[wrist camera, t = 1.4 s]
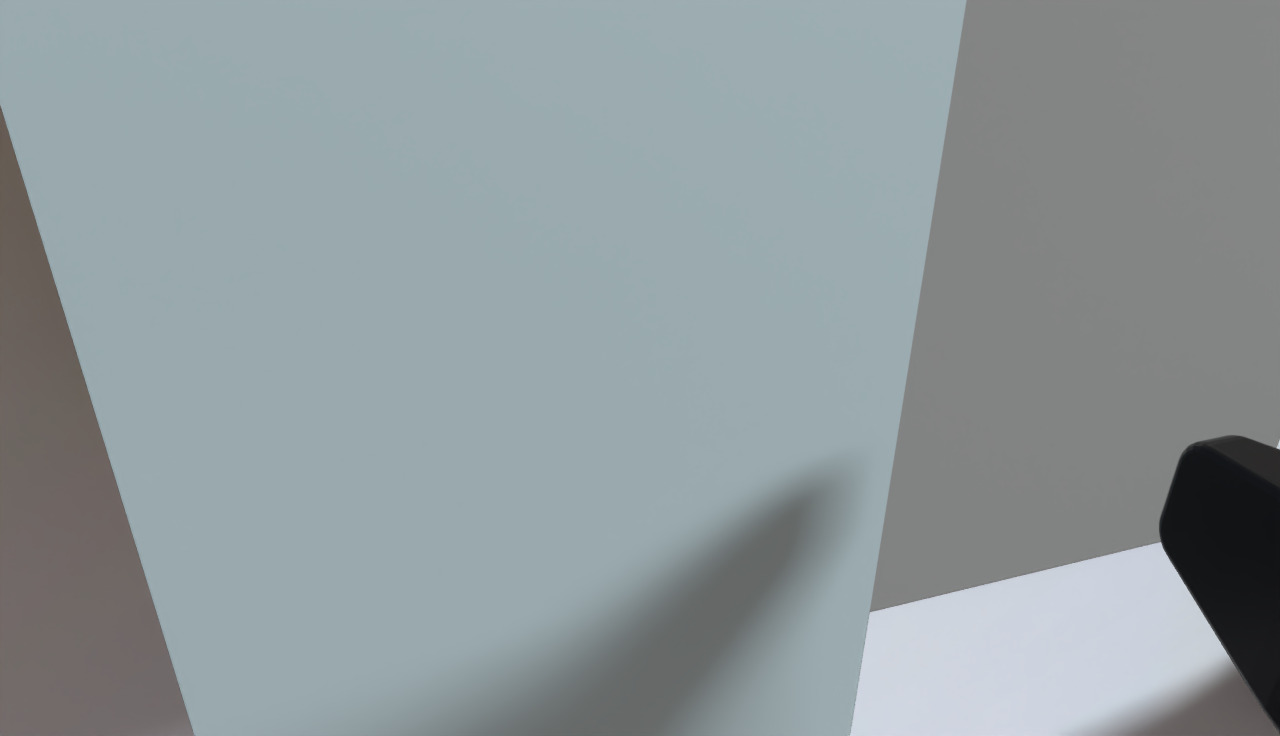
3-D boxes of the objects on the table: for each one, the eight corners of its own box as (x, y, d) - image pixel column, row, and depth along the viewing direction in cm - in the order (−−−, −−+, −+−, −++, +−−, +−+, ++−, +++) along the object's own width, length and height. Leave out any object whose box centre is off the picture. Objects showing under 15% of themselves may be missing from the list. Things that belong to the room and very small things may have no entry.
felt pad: (1238, 511, 26) (1248, 520, 26) (827, 610, 23) (833, 621, 23) (1496, -176, 18) (1514, -174, 18) (926, -144, 16) (936, -139, 15)
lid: (760, 579, 16) (850, 735, 14) (235, 697, 15) (244, 898, 12) (838, -347, 10) (1018, -328, 8) (-47, -340, 8) (-130, -313, 6)
